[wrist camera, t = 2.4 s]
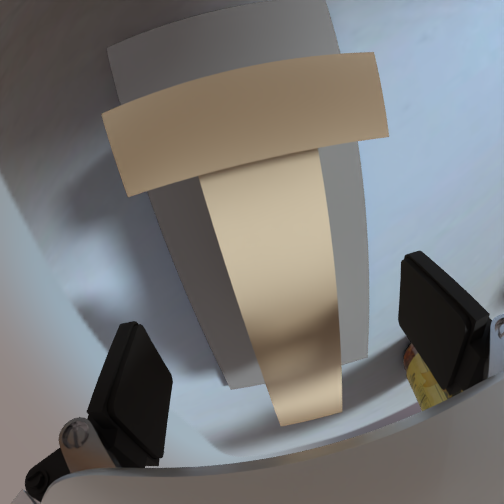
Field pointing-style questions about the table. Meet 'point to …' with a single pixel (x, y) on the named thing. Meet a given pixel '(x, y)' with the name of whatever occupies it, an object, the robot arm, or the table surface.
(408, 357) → the sauce bottle
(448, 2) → the table surface
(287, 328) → the beige t-shaped block
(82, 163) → the table surface
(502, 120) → the table surface
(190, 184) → the mat
